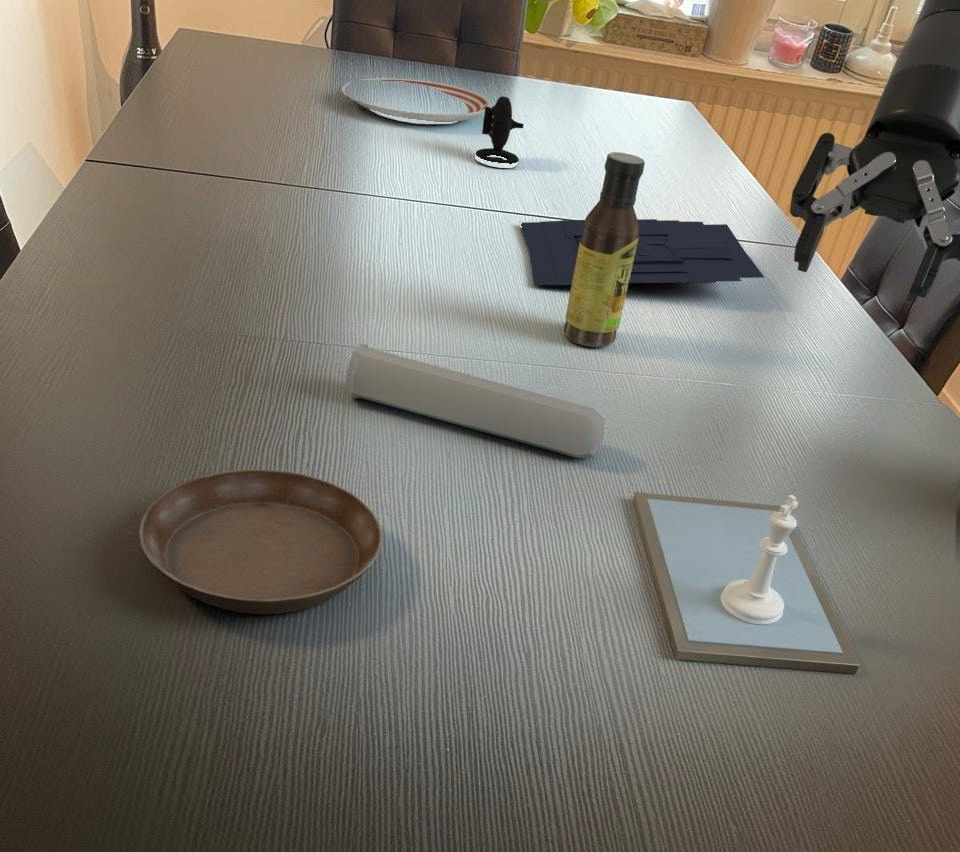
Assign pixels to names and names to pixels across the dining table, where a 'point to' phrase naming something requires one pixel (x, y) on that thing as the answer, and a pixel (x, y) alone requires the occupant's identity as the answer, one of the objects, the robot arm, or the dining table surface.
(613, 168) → the sauce bottle
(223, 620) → the dining table surface
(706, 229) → the papers
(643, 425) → the dining table surface
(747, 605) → the chess piece
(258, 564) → the plant saucer
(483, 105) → the dinner plate
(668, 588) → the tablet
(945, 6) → the robot arm
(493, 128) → the webcam
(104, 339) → the dining table surface
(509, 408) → the tube
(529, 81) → the dining table surface
